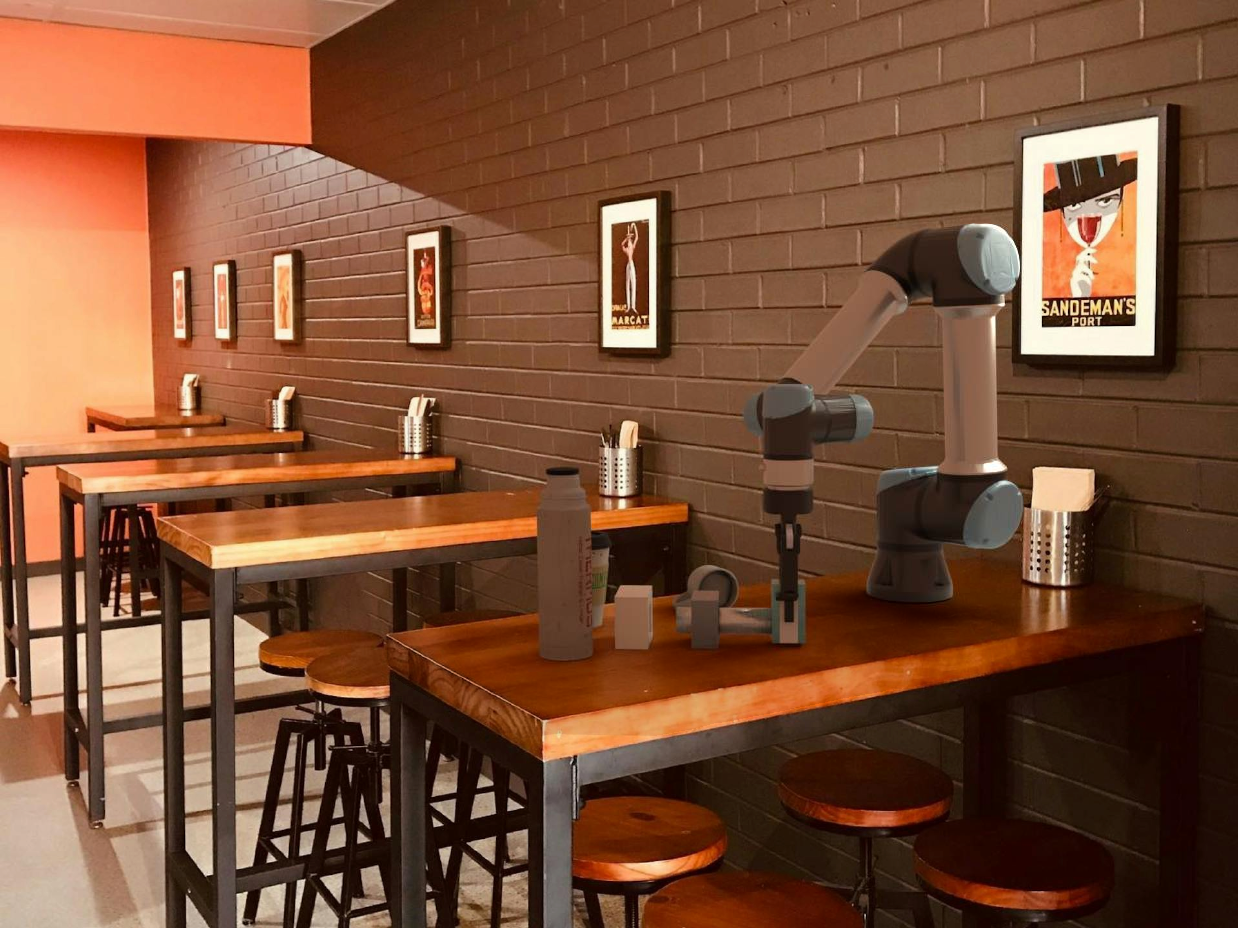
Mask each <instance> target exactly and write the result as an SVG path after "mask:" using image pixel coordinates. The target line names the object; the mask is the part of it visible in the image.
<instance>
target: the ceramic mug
mask: <svg viewBox="0 0 1238 928" xmlns="http://www.w3.org/2000/svg"><path fill="white" fill-rule="evenodd" d="M739 588H740V587H739V583H738V579H737V578H736V576H735V575H734V573H732V571H730V570H728V569H726V568H722V567H719V566H716V565H711V564H707V565H701V566H699V567H697V568H696V569H693V571H692V572H691V574H690V575H689V577H688V579H687V590H686V591H685V592H683V593H682V594H680V595H678V596H677V597H675V598H674V599H673V600H672V605H673V608H674V610H675V611H676V609H677V607H691V599H692V594H693V591H719V608H733V606H734V605H735V603H736V602H737V599H738V597H739V591H740V590H739Z"/></svg>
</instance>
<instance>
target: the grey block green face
mask: <svg viewBox="0 0 1238 928" xmlns="http://www.w3.org/2000/svg"><path fill="white" fill-rule="evenodd" d="M770 590H771V595H770V596H771V604H770V605H771V607H731V608H718V634H719V635H771V643H772V644H781V643H780V601H776V597H780V593H781V579H779V578H778V579H776V578H771V589H770ZM798 593H799V597H798V599H797V600H798V643H797V644H806V582H805V579H802V578H798ZM675 615H676V617H675V631H676V634H690V635H691V607H677V609H676V610H675Z"/></svg>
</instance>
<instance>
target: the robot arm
mask: <svg viewBox="0 0 1238 928" xmlns="http://www.w3.org/2000/svg"><path fill="white" fill-rule="evenodd" d="M1020 268H1021V267H1020V257H1019V253H1018V249H1017V247H1016V245H1015V242H1014V240H1013V239H1012V238H1011V236H1009V235H1008V233H1007V231H1005V230H1004V229H1003V228H1002V227H1000V226H998V225H995V224H990V223H970V224H964V225H963V224H962V225H956V226H946V227H945V226H944V227H935V228H924V229H918V230H916V231H913V232H910V233H909V234H907V235H905V236H903V237H902V238H900V239H899V240H897V241H896V242H894V243H893V244H892V245H890V246H889V247H888V248H887V249H886V250H884V251H883V252H882V253H881V254H880V255H879V256H878V257H877V258H876V259H875V260H873V262H872V263H871V264H870V265H869V266H868V267H867V268H866V270H865V271H864V272H863V273H862V274H861V276H859V279H858V288H857V289H856V290H855V291H854V293H853V294H852V295H851V296H850V297H849V298H848V300H847V301H846V302H845V303H844V304H843V305H842V306H841V308H840V309H839V310H838V311H837V312H836V314H835V315H834V316H833V317H832V318H831V319H830V320H829V322H828V323H827V324H826V325H825V326H824V328H823V329H822V330H821V331H820V332H819V333H818V335H817V336H816V337H815V338H814V339H813V340H812V342H811V343H810V344H809V345H808V346H807V347H806V349H805V350H804V351H803V352H802V354H801V355H800V356H798V358H797V359H796V361H794V363H793V364H792V365H791V366H790V367H789V369H788V370H786V372H785V373H784V375H782V376H781V378H780V379H779V380H778V382H777V383H776V384H770V385H768V386H766V387H765V389H764V390H763V391H760V392H759V391H758V392H756V393H753V394H751V395H750V396H749V397H748V399H747V400H746V401H745V404H744V406H743V412H742V418H743V422H744V424H745V427H746V429H747V430H748V432H750V433H751V434H752V435H753V436H757V437H760V438H762V449H763V450H762V455H763V457H762V458H763V463H764V464H760V465H759V466H758V470H759V471H760V472H764V473H763V475H762V476H763V484H764V485H765V486H767V487H764V489H763V491H762V496H763V497H762V509H763V512H764V513H767V514H769V515H774V516H775V515H779V522H778V523H774V535H775V538H776V539H775V540H776V541H775V542H776V544H775V545H776V553H777V555H778V579H781V593H780V597H776V601H780V643H779V644H799V643H798V600H797V599H798V597H799V593H798V579H799V555H800V554H801V538H802V535H803V534H802V533H803V532H802V531H803V528H802V524H801V523H797V516H798V515H802V516H803V515H809V514H810V513H812V512H813V510H814V490H813V489H812V487H811V486H812V485H813V484H814V479H815V478H814V476H815V475H814V471H815V470H814V468H815V467H814V466H815V465H814V464H815V463H814V461H815V458H814V446H818V445H833V444H851V443H855V442H859V441H863V440H864V439H866V438H867V437H868V436H869V435H870V434H871V432H872V429H873V427H874V422H875V421H874V419H875V417H874V415H875V414H874V410H873V407H872V405H871V403H870V402H869V400H868V399H867V398H866V397H864V396H862V395H861V394H856V393H855V394H854V393H853V394H850V393H842V394H829V393H830V391H831V390H832V389H833V388H834V387H835V386H836V385H837V383H838V382H839V381H840V380H841V378H842V377H843V376H844V375H845V374H846V372H848V370H849V369H850V368H851V366H852V365H853V364H854V363H855V362H856V360H858V358H859V357H860V355H862V353H863V352H864V351H865V350H866V348H867V347H868V346H869V345H870V344H871V342H872V341H873V340H874V339H875V338H876V337H877V335H878V334H879V333H880V332H881V331H882V329H883V328H884V326H886V324H887V323H888V322H889V321H890V320H891V318H892V317H893V316H898V315H900V314H903V313H904V312H905V311H906V310H907V309H908V307H910V305H911V304H913V303H915V302H916V301H918V300H921V299H925V298H932V309H933V310H934V312H935V313H937V315H938V316H939V317H940V319H941V321H942V322H941V323H942V326H941V327H942V366H943V368H942V370H943V372H942V373H943V410H944V412H943V414H944V453H945V456H944V459H943V462H941V463H940V464H939V465H933V466H932V465H931V466H922V467H921V466H920V467H919V466H918V467H909V468H908V467H907V468H898V469H890V470H889V469H888V470H884V471H882V472H881V473H880V474H879V476H878V478H877V487H876V489H877V490H876V494H875V495H876V553H875V555H874V559H873V562H872V566H871V568H870V571H869V573H868V574H869V575H868V577H867V580H866V594H867V595H868V596H870V597H872V598H875V599H878V600H885V601H889V602H890V601H891V602H898V603H899V602H900V603H932V602H940V601H945V600H948V599H951V598H952V597H953V596H954V594H953V593H954V591H953V589H954V587H953V586H954V585H953V580H952V577H951V574H950V572H949V568H948V565H947V562H946V558H945V555H944V543H946V544H951V545H956V546H957V545H958V546H962V547H963V546H964V547H968V548H970V549H976V550H977V549H988V550H993V549H998V548H1000V547H1002V546H1003V545H1005V544H1006V543H1007V542H1009V541H1010V540H1011V538H1013V536H1014V533H1015V532H1017V530H1018V527H1019V525H1020V523H1021V520H1022V516H1023V511H1024V500H1023V495H1022V493H1021V491H1019V490H1020V488H1019V487H1018V486H1017V485H1016V484H1014V483H1013V482H1012V481H1010V480H1009V481H1008V467H1007V466H1006V465H1005V464H1004V463H1003V462H1002V461H1001V459H999V456H998V455H999V453H998V451H999V450H998V408H997V407H998V405H997V404H998V401H997V400H998V399H997V394H998V393H997V353H996V352H997V346H996V345H997V342H996V341H997V340H996V339H997V338H996V337H997V336H996V333H997V331H996V316H997V314H998V313H999V312H1000V311H1001V310H1002V309H1003V307H1005V306H1006V304H1005V295H1006V294H1008V293H1009V292H1011V291H1012V290H1013V289H1014V287H1015V286H1016V281H1018V280H1019V276H1020Z"/></svg>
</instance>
